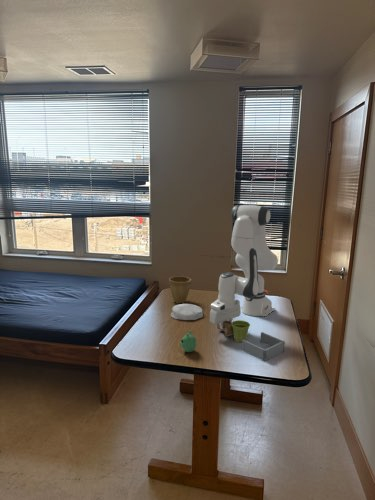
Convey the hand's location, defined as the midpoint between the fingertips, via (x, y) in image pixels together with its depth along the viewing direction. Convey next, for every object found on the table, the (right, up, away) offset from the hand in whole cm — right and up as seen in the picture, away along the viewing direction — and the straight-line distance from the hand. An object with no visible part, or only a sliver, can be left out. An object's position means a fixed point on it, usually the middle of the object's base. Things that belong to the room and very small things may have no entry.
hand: (225, 327), depth 183 cm
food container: (-21, +1, +25) cm, 33 cm away
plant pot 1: (-25, +6, +48) cm, 55 cm away
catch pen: (+16, -7, -18) cm, 25 cm away
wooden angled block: (+1, -2, -1) cm, 2 cm away
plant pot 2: (+7, -5, -7) cm, 11 cm away
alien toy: (-20, -7, -20) cm, 29 cm away
